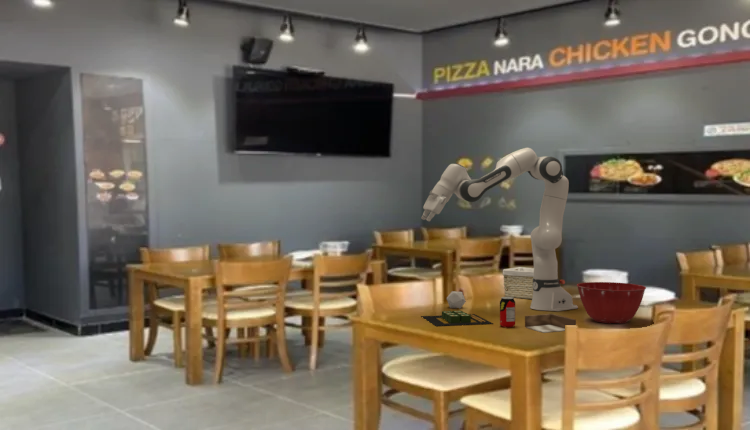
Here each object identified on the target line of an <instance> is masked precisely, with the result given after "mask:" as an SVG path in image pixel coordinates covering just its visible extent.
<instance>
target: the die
mask: <svg viewBox="0 0 750 430" xmlns="http://www.w3.org/2000/svg"><path fill="white" fill-rule="evenodd" d="M446 301H447V304H448V306H449V309H457V308H459V309H462V307H463V306H464V304H466V298H465V296H464V294H463V291H455V290H454V291H453V290H452V291H451V292H450V293H449V294H448V296H447V297H446Z"/></svg>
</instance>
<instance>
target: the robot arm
mask: <svg viewBox="0 0 750 430" xmlns="http://www.w3.org/2000/svg"><path fill="white" fill-rule="evenodd" d="M524 173H528V174H529V175H530V176H531V178H533V179H534V180H539V181H543V182H544V191H543V194H542V195H543V196H542V198H541V204H540V209H539V224H538V225H537V226H536V227H535V228H533V229H532V231H531V232H530V241H531V251H532V257H533V258H532V259H533V268H534V278H533V297H532V299H531V303H530V306H529V308H530V309H533V310H537V311H549V312H550V311H552V312H562V311H567V310H569V311H570V310H574V309H578V305H577V304H573V303H574V302H573V296H572V295H571V294H570V293H569V292H568V291H567V290H565V288H564V287H562V286H561V285H564V284H566V281H565V279H559V277H558V263H559V262H558V259H557V254H556V249H557V248H559V247H560V246H561V244H562V240H563V239H562V238H563V237H562V233H563V219H564V214H565V209H566V205H567V201H568V195H569V188H570V187H569V185H570V183H569V179H568V177H566V176H565V175H564V171H563V166H562V163H561V161H560V160H559V159H558V158H556V157H553V156H543V155H542V156H538V155H537V153H536V152H535V150H533V148H530V147H524V148H521V149H517V150H515V151H513V152H511V153H509V154H507V155H504V157H502V158H501V159H499V160H498V161H497V162H496V164H495V169H494V170H492V171H491V172H489V173H487V174H485V175H484V176H482V177H480V178H476V179H475V178H473V179H471V177H470V176H469V173H468V171H467V168H466V167H465V166H463V165H461V164H459V163H450V164H449V165H448V166H447V167H446V168H445V170H444V171H443V172H442V174H441V176H440V180H438V181H437V182H436V184H435V185H434V187H433V189H431V190H430V192H429V195H428V197H427V199H426V200H425V202H424V205H423V207H422V208H423V210H424V211H423V213H422V216H421V219H422V220H423V221H425V220H426V221H427V222H431V220H433V218H434V217H435V216H436V215H440V214H441V212H442V210H443V209H444V207H445V205H446V203H448V202H449V201H450V199H451V198H452V197H453V194H454V195H455V196H456V197H457V198H458V199H459V200H463V201H466V202H469V203H473V202H474V203H475V202H478V201H479V200H480V199H481V198H482V196H484V194H485V193H486V192H487V191H488V190H490V189H492V188H494V187H495V186H498V185H499V184H501V183H502V182H506V181H509V180H513V179H515V178H517V177H519V176H521V175H523V174H524Z"/></svg>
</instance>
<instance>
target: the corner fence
mask: <svg viewBox="0 0 750 430" xmlns="http://www.w3.org/2000/svg"><path fill="white" fill-rule="evenodd" d="M565 325H576V326H577V319H574V318H570V317H567V316H562V315H558V314H554V313H545V314H533V315H531V314H530V315H525V316H524V327H525V328H526V329H529V330H533V331H535V332H539V333H543V334H545V333H553V332H554V333H555V332H566V331H565Z"/></svg>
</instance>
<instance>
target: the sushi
mask: <svg viewBox="0 0 750 430" xmlns="http://www.w3.org/2000/svg"><path fill="white" fill-rule="evenodd" d="M420 317H421V318H422V317H423V318H422V319H423V320H425V319H426V320H425V321H427V322H428V321H429V322H428V323H430V324H431V323H432V325H433V326H434V327H436V328H437V327H439V328H440V327H455V326H456V327H460V326H462V325H463V326H479V325H481V326H482V325H494V323H493V322H491V321H490V320H487V319H485V318H484V317H481V316H479V315H477V314H474V313H473V314H471V313H470V314H469V313H467V312H465V311H463V310H441V315H440V314H439V315H421V316H420ZM442 318H443V319H442ZM440 319H442V320H444V319H445V320H444V321H446V322H447V321H448V322H447V323H446V322H443V321H442V320H440ZM472 320H473V321H472Z"/></svg>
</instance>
